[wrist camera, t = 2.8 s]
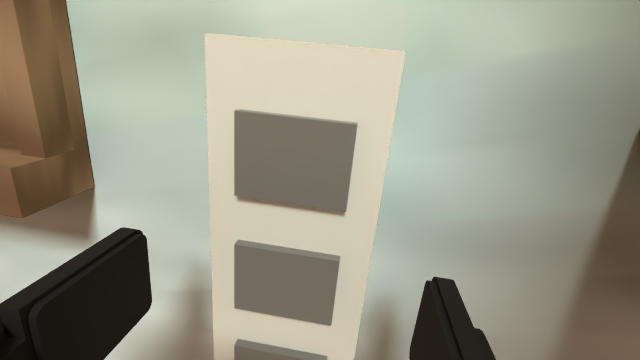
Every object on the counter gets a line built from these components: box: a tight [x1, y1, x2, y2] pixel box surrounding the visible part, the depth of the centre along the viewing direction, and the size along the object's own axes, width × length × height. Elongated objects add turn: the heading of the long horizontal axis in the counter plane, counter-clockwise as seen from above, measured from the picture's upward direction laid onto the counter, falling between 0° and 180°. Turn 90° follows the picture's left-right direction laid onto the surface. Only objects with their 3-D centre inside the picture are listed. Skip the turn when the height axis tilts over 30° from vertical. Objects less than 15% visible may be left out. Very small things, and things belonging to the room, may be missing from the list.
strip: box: [205, 33, 406, 360], centre depth 13 cm, size 14×5×6 cm, turn 175°
